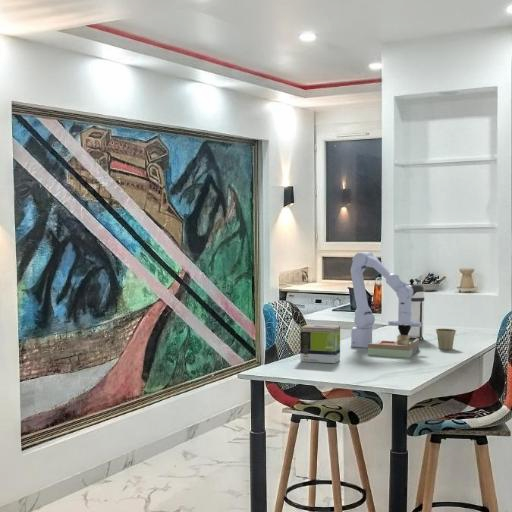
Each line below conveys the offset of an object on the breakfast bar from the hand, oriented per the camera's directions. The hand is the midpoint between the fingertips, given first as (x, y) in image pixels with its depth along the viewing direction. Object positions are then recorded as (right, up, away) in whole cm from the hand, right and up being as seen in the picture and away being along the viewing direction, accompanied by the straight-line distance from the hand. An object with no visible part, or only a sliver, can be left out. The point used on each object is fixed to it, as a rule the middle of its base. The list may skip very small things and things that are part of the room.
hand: (404, 342), depth 358 cm
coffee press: (+10, -3, +39) cm, 40 cm away
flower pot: (+21, -4, +8) cm, 22 cm away
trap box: (-5, -4, -4) cm, 8 cm away
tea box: (-40, -5, -28) cm, 49 cm away
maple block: (-1, -1, -4) cm, 4 cm away
